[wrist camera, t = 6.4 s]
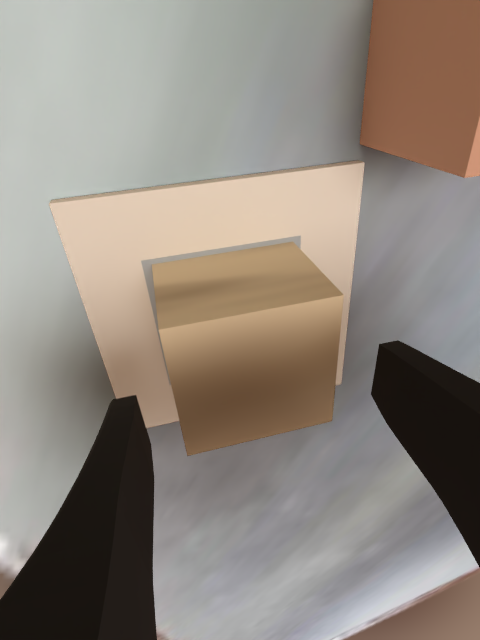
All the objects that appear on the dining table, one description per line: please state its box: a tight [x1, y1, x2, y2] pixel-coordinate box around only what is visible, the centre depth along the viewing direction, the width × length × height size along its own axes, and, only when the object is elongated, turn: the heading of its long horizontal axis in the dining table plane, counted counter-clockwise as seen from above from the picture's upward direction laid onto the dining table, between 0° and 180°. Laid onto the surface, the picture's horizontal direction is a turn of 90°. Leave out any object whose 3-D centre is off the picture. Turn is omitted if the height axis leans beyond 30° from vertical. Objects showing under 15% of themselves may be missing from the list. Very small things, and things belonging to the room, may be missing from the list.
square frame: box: [49, 160, 365, 428], centre depth 15 cm, size 10×10×1 cm
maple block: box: [152, 242, 344, 456], centre depth 13 cm, size 5×5×4 cm
